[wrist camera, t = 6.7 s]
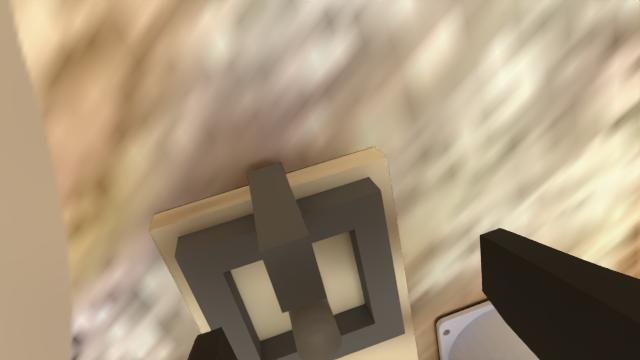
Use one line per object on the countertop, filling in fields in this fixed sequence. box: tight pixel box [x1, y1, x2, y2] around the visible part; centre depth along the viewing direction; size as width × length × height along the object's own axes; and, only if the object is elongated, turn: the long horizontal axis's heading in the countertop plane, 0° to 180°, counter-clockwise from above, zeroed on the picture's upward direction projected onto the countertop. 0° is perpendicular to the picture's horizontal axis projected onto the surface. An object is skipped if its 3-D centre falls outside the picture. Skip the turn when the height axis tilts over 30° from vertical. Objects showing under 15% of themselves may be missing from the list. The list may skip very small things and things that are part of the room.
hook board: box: [149, 147, 418, 360], centre depth 20 cm, size 20×11×5 cm, turn 13°
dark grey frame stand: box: [174, 162, 405, 360], centre depth 16 cm, size 11×9×6 cm
